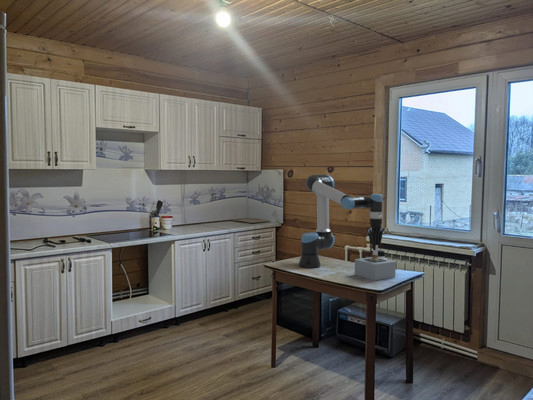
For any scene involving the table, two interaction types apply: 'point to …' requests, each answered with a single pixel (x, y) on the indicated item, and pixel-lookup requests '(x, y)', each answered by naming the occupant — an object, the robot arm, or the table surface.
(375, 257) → the peg
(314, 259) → the robot arm
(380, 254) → the container
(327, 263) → the table surface
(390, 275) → the socket block
